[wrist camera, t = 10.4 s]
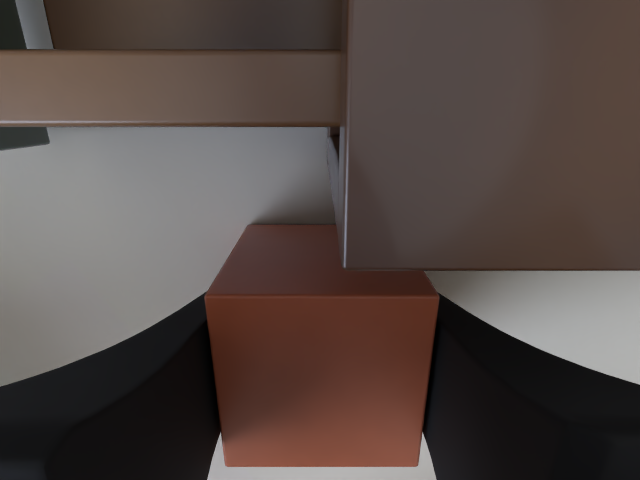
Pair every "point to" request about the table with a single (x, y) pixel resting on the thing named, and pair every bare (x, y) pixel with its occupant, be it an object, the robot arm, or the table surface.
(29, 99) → the drawer
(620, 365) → the table surface
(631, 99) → the cabinet
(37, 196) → the table surface
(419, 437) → the block
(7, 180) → the table surface
